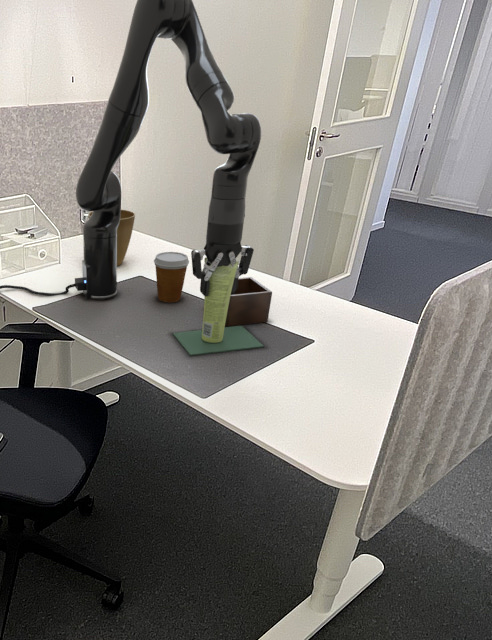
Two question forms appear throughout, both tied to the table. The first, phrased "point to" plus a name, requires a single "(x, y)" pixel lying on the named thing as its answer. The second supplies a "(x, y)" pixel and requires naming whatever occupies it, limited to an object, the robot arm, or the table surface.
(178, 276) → the disposable coffee cup
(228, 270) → the tube
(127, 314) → the table surface
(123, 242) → the plant pot
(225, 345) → the felt mat
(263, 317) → the box
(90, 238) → the robot arm
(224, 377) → the table surface
